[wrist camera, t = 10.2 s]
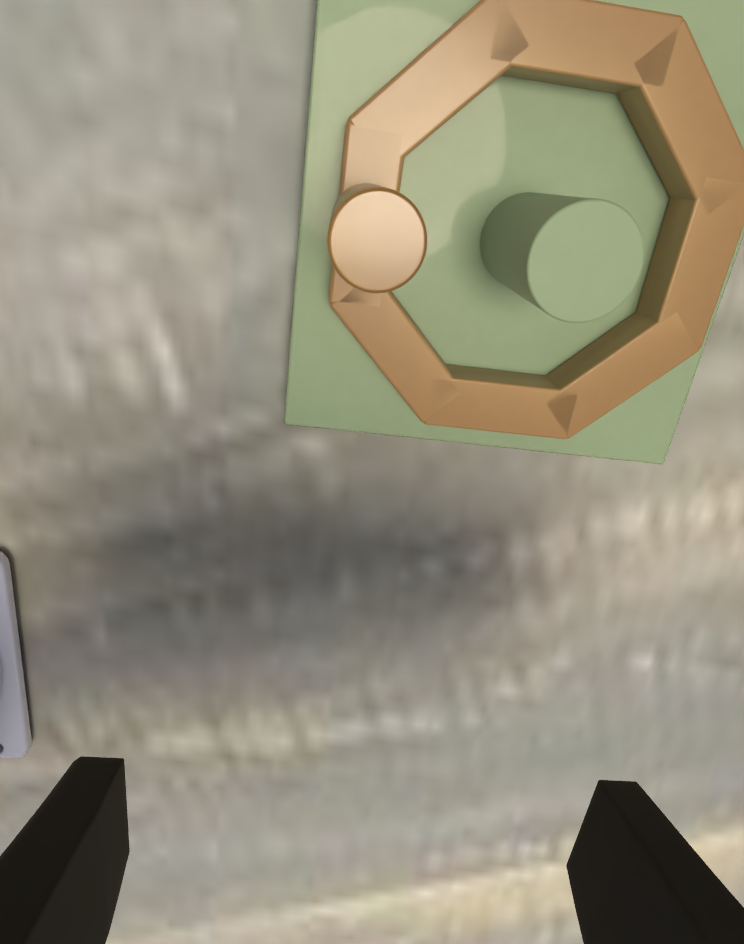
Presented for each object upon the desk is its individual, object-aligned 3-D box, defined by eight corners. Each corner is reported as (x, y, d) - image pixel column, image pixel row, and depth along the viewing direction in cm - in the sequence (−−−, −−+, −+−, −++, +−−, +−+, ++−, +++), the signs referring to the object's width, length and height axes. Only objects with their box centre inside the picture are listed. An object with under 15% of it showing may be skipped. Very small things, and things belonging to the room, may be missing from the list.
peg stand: (287, 409, 17) (266, 499, 12) (324, -61, 13) (315, -195, 8) (644, 447, 18) (753, 545, 13) (786, 23, 14) (1018, -55, 9)
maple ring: (314, 396, 16) (302, 504, 11) (354, -24, 12) (365, -165, 7) (644, 432, 16) (780, 548, 11) (771, 48, 13) (1049, -33, 8)
